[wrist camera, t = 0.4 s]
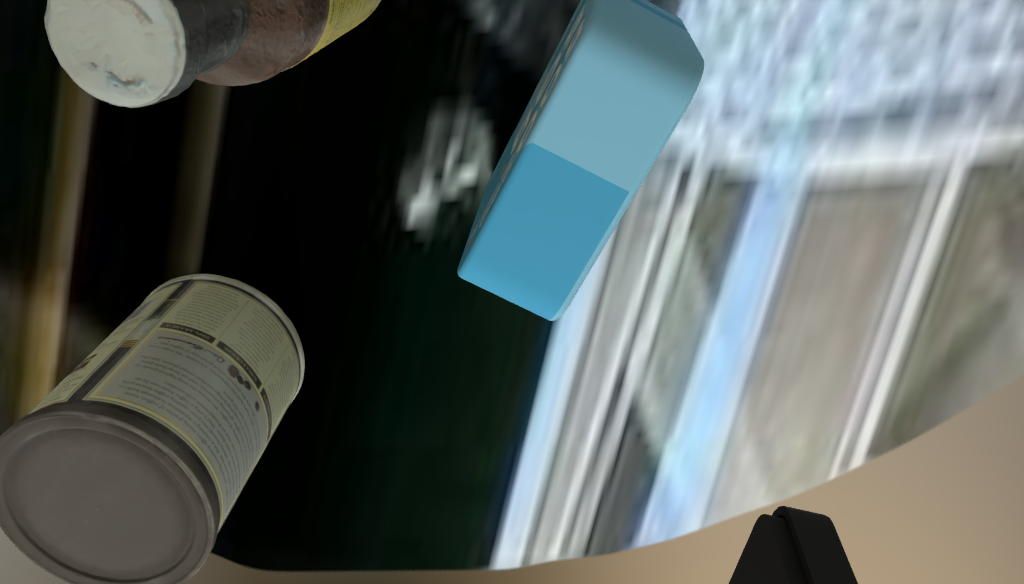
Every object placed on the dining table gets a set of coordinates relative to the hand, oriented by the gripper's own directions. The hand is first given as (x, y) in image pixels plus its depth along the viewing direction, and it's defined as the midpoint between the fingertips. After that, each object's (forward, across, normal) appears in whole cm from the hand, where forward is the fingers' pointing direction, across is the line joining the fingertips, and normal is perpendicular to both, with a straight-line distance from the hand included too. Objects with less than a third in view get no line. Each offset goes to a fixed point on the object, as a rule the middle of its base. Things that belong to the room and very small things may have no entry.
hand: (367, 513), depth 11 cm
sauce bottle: (+35, +10, -2) cm, 36 cm away
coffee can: (+36, +13, +21) cm, 43 cm away
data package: (+35, -4, +2) cm, 35 cm away
